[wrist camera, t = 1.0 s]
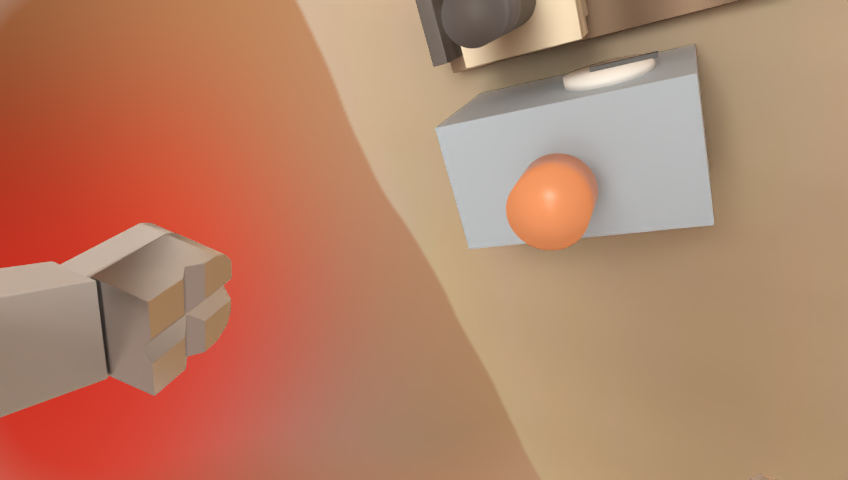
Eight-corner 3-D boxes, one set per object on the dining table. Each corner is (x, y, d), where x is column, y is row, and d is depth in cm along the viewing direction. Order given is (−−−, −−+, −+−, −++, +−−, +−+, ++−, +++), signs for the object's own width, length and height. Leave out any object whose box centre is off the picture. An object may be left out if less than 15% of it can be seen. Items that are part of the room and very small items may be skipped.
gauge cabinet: (693, 29, 34) (694, 55, 27) (709, 168, 37) (714, 224, 30) (477, 81, 41) (431, 114, 33) (505, 196, 44) (469, 249, 37)
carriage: (572, -78, 33) (530, -83, 24) (591, 29, 35) (558, 61, 26) (460, -39, 36) (387, -30, 27) (484, 57, 38) (423, 94, 29)
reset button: (590, 147, 28) (581, 167, 26) (604, 220, 30) (596, 246, 27) (513, 159, 30) (497, 180, 28) (529, 228, 32) (516, 253, 29)
